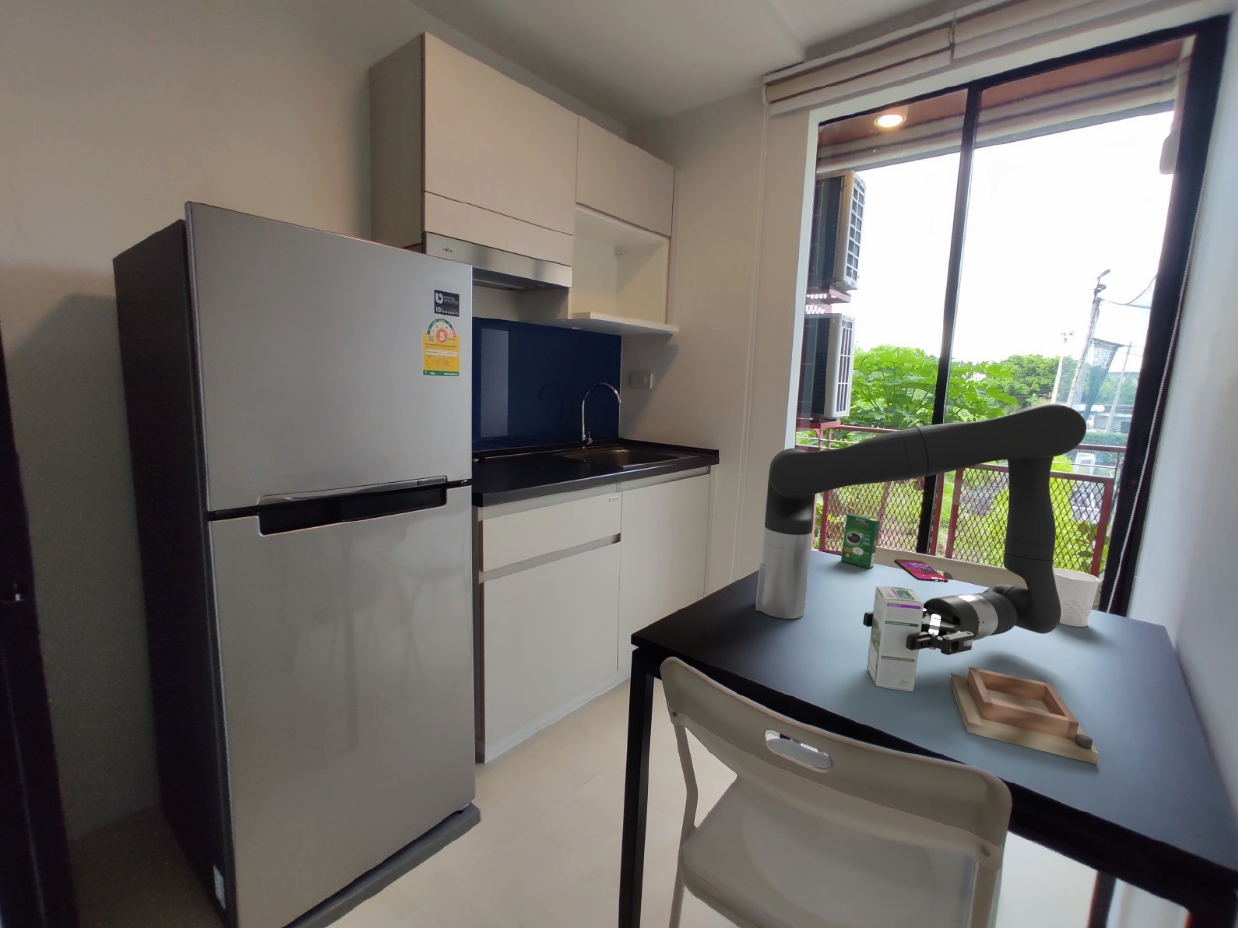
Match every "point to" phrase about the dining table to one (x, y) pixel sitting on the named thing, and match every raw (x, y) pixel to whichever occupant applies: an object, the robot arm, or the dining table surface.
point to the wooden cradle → (1020, 713)
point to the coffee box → (860, 540)
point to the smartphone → (919, 570)
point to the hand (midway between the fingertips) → (885, 630)
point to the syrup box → (894, 637)
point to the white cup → (1075, 595)
